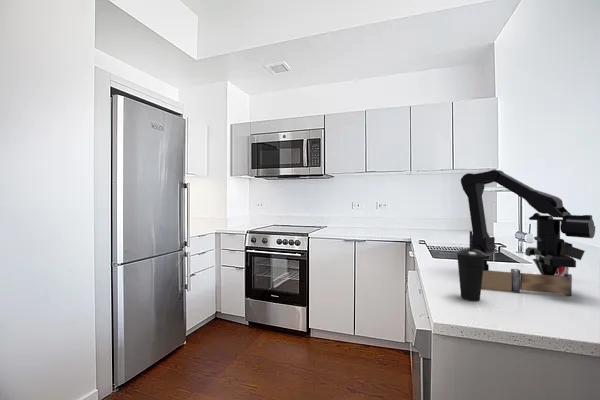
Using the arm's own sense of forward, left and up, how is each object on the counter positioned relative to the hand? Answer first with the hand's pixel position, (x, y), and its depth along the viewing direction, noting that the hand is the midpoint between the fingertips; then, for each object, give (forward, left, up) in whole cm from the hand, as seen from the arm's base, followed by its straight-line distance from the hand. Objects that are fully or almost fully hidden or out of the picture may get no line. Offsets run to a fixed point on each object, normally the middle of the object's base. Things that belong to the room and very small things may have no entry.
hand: (548, 283), depth 92 cm
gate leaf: (-3, -4, -2) cm, 5 cm away
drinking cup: (-25, -16, -3) cm, 30 cm away
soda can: (+11, +22, -3) cm, 24 cm away
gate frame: (-8, -3, -3) cm, 9 cm away
